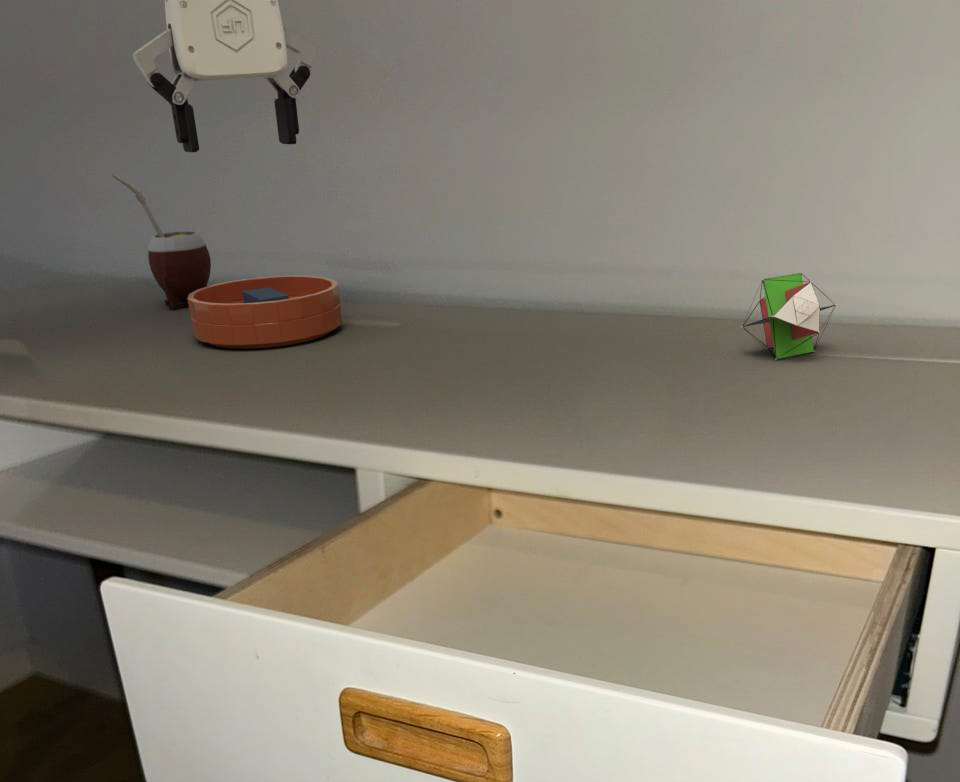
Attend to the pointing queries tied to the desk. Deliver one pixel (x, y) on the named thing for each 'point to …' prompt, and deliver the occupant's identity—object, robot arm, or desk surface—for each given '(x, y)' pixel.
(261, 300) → the blue rectangular block
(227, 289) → the bowl
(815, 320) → the geometric puzzle
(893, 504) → the desk surface
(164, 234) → the mate gourd
